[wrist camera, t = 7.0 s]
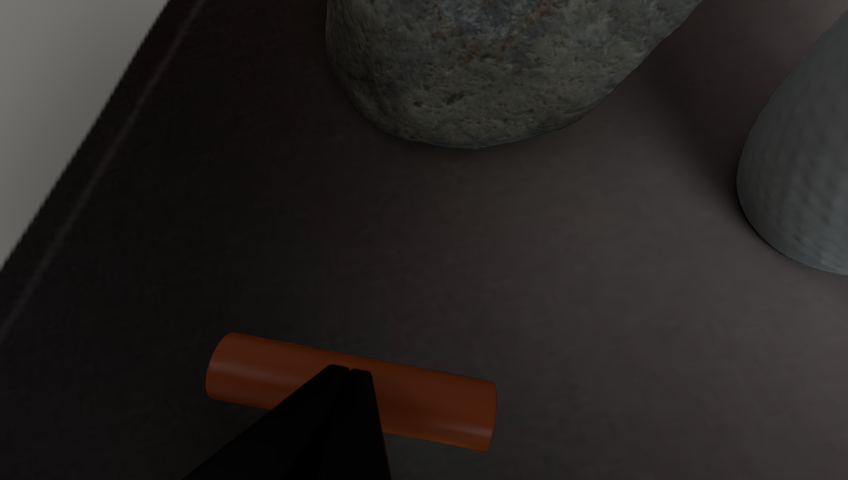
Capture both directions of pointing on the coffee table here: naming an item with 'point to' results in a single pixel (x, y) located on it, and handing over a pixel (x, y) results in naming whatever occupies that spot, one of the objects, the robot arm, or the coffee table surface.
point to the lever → (394, 387)
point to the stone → (489, 62)
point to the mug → (803, 159)
